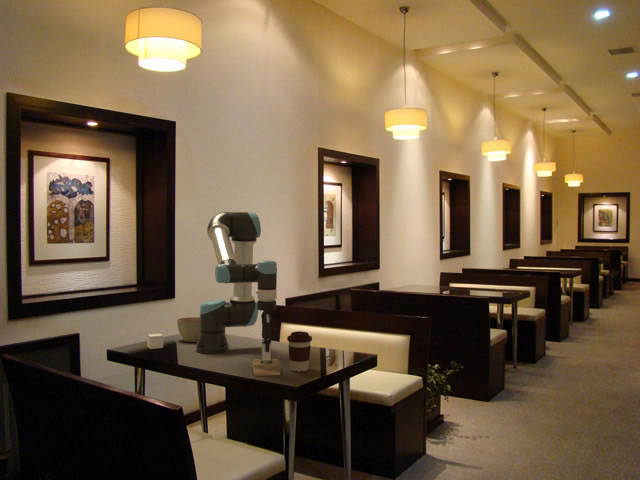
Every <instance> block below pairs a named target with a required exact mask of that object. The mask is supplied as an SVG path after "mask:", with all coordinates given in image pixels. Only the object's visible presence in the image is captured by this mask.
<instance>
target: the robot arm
mask: <svg viewBox="0 0 640 480" xmlns="http://www.w3.org/2000/svg"><path fill="white" fill-rule="evenodd" d="M261 227H262V226H261V221H260V218H259V215H258V214H257V213H255V212H249V211H247V212H246V211H243V212H242V211H237V212H236V211H235V212H234V211H221V212H219V213H217V214H216V215H214V216H213V217H212V218H211V219H210V221H209V223H208V225H207V228H206V229H207V231H206V232H207V237H208V239H209V240H211V242H212V246H213V249H214V253H215V257H216V262H217V265H216V266H215V268H214V276H215V281H216V282H217V283H219V284H233V290H232V291H233V294H232V295H231V296H230V298H229V302H228V301H226V299H217V298H216V299H211V300H207V301H203V302H202V303H201V304H200V306H199V307H200V308H199V317H200V336H199V339H198V341H197V342H196V345H195V352H197V353H200V354H205V355H206V354H209V355H211V354H222V353H225V352H226V353H227V352H228V351H230V344H229V341H228V338H227V336H226V329H227V328H236V327H237V328H238V327H239V328H240V327H242V328H247V327H250V326H251V327H252V326H254V325H255V324H256V322H257V320H258V316H259V311H260V312H262V313H261V315H260V317H261V345H262V344H264V347H263V360H270V359H271V356H272V355H271V351H272V349H271V348H272V347H271V345H272V344H271V343H272V320H273V315H272V313H271V312H272V311H273V312H274V311H276V310H277V297H278V295H277V293H278V292H277V291H278V289H277V281H278V279H277V278H278V276H277V275H278V273H277V272H278V266H277V264H278V263H277V262H276V261H275V260H259V261H258V262H257V263H254V261H253V260H254V259H253V258H254V245H255V243H257V239H258V238H260V237H261V232H262V230H261V229H262V228H261ZM230 238H231V239H230ZM232 243H233V244H234V249H233V247H232ZM253 283H257V291H255V294H257V297H256V298H257V301H255V297H254V296H253V295H252V294H253V286H252V285H253Z"/></svg>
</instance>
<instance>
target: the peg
mask: <svg viewBox="0 0 640 480" xmlns="http://www.w3.org/2000/svg"><path fill="white" fill-rule="evenodd" d="M263 347H264V344H262V343H261V356H262V357H261V358H262V363H270V360H263Z"/></svg>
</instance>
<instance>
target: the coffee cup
mask: <svg viewBox="0 0 640 480" xmlns="http://www.w3.org/2000/svg"><path fill="white" fill-rule="evenodd" d="M286 339H287V342H288V359H289V369H290V371H292V372H296V371H297V372H299V373H300V372H301V371H303V372H307V371H308V370H309V364H310V359H311V342H313V336H311V335H310V334H309V332H307V331H293V332H291V333H290V335H287V337H286Z"/></svg>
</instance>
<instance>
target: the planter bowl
mask: <svg viewBox="0 0 640 480" xmlns="http://www.w3.org/2000/svg"><path fill="white" fill-rule="evenodd" d="M176 322H177V329H178V332H179V334H180V336H181V338H182V339H183V341H184V342H188V343H189V342H190V343H194V342H196V343H197V342H198V339H199V336H200V316H197V317H196V316H195V317H194V316H193V317H189V316H188V317H181V318H180V317H179V318H177V319H176Z"/></svg>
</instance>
